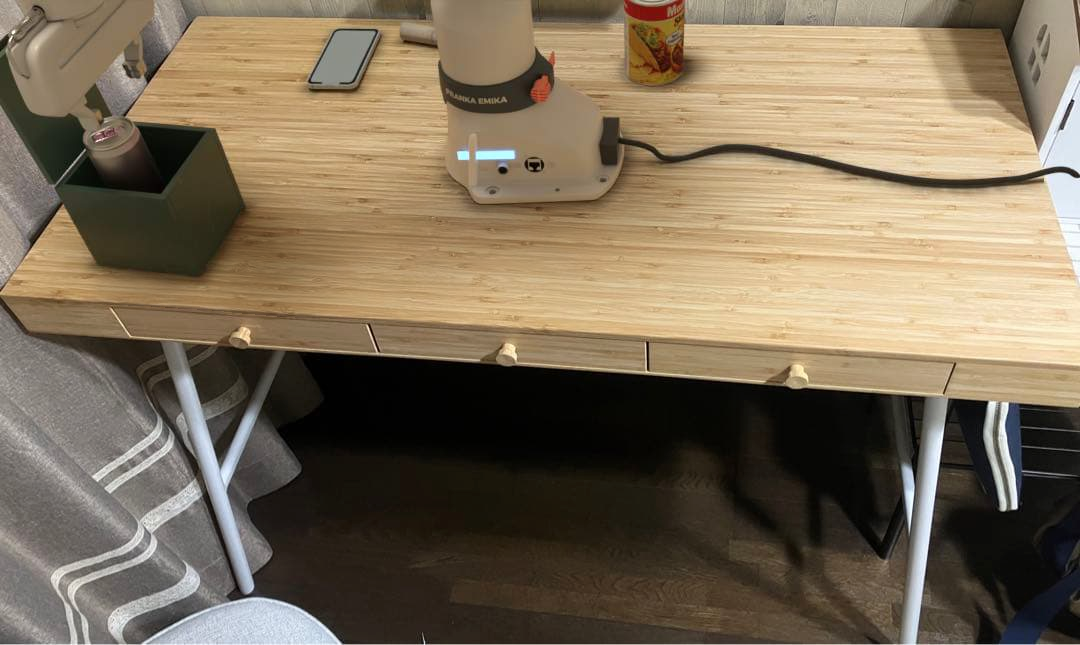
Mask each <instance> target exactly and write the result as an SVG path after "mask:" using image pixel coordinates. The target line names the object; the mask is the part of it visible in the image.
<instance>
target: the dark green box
mask: <svg viewBox="0 0 1080 645" xmlns="http://www.w3.org/2000/svg"><path fill="white" fill-rule="evenodd" d="M131 121H132V122H133V123H134V125H135V126H136V127H137V128H138V129H139V131H140V133H141V135H142V137H143V139H144V141H145V143H146V145H147V147H148V149H149V151H150V153H151V155H152V157H153V159H154V161H155V163H156V166H157V168H158V170H159V172H160V174H161V176H162V178H163V180H164V182H165V184H166V186H167V187H166V188H165V189H164V191H163V192H162V193H161V194H156V193H146V192H136V191H126V190H116V189H107V188H106V186H105V184H104V182H103V181H102V179H101V177H100V175H99V173H98V172H97V170H96V168H95V166H94V165H93V163H92V161H91V159H90V157H89V156H88V154H87V152H86V150H84V151H83V152H82V153H81V154H80V156H79V157H78V158H77V159H76V160H75V162H74V163H73V164H72V165H71V166H70V168H69V169H68V170H67V171H66V172H65V173H64V175H63V176H62V177H61V178H60V179H59V181H58V182H57V183H56V184H55V185H54V188H53V189H54V191H55V192H56V195H57V196H58V198H59V200H60V202H61V203H62V205H63V206H64V209H65V210H66V212H67V214H68V216H69V217H70V219H71V221H72V223H73V225H74V226H75V228H76V230H77V231H78V234H79V235H80V237H81V239H82V241H83V242H84V245H85V246H86V247H87V249H88V251H89V253H90V255H91V256H92V258H93V260H94V262H95V264H96V265H97V266H104V267H105V266H106V267H113V268H121V269H130V270H137V271H138V270H139V271H146V272H155V273H162V274H172V275H180V276H189V277H198V278H200V277H202V275H203V274H204V272H205V270H206V269H207V267H208V265H209V264H210V262H211V261H212V260H213V258H214V256H215V255H216V253H217V251H218V250H219V248H220V247H221V246H222V244H223V242H224V241H225V239H226V237H227V236H228V234H229V232H230V231H231V229H232V228H233V226H234V225H235V223H236V222H237V220H238V219H239V217H240V215H241V214H242V212H243V211H244V209H245V207H246V203H245V201H244V198H243V196H242V193H241V190H240V187H239V185H238V182H237V181H236V177H235V175H234V173H233V170H232V167H231V165H230V162H229V159H228V157H227V155H226V151H225V149H224V147H223V143H222V141H221V139H220V137H219V133H218V130H217V129H216V127H206V126H195V125H184V124H172V123H171V124H170V123H159V122H147V121H137V120H131Z"/></svg>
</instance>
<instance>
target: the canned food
mask: <svg viewBox="0 0 1080 645" xmlns="http://www.w3.org/2000/svg"><path fill="white" fill-rule="evenodd" d="M622 3H623V42H624V43H623V44H624V47H623V48H624V50H623V52H624V72H625V75H626V76H627V78H628V79H629V80H630V81H632V82H634V83H636V84H639V85H642V86H647V87H651V86H652V87H656V86H664V85H668V84H670V83H672V82H674V81H676V80H678V78H680V77H681V76H682V74H683V70H684V54H685V53H684V49H685V48H684V47H685V19H686V18H685V16H686V0H623V2H622Z"/></svg>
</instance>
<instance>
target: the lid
mask: <svg viewBox="0 0 1080 645" xmlns="http://www.w3.org/2000/svg"><path fill="white" fill-rule="evenodd" d="M8 40H9V36H8V33H7V34H5V35H4V36H3V37H1V39H0V107H1V110H2V111H3V112H4V114H5V116H6V118H7V119H8V121H9V123H10V124H11V125H12V127H13V128H14V131H15V132H16V134H17V135H18V137H19V138H20V140H21V142H22V143H23V145H24V147H25V148H26V150H27V151H28V153H29V155H30V156H31V158H32V159H33V161H34V163H35V164H36V166H37V168H38V169H39V171H40V172H41V174H42V176H43V177H44V179H45V180H46V182H47V184H48V185H51V186H52V185H53V186H56V185H57V184H58V183H59V181H60V180H61V179H62V178H63V177H64V175H65V174H66V173H67V172H68V171H69V170H70V168H71V167H72V166H73V165H74V164H75V162H76V161H77V160H78V159H79V158H80V156H81V155H82V154H83V153H84V152H85V145H84V143H83V135H84V133H85V131H86V130H85V129H84V128H83V127H82V125H81V123H80V121H79V119H78V117H75V116H74V115H72V114H70V113H68V114H67V115H66V116H65V117H48V116H40V115H37V114H35V113H32V112H31V111H30V110H29V109H28V107H27V106H26V104H25V102H24V100H23V98H22V95H21V93H20V91H19V89H18V86H17V84H16V81H15V79H14V76H13V74H12V71H11V68H10V65H9V61H8V57H7V55H6V49H7V44H8ZM96 83H97V82H95V84H94V85H93V86H92V87H91V88H90V89H89V91H88V92H87V93H86V94H85V95H84V96H85V98H86V100H87V103H86V104H85V106H86V107H87V108H89V109H99V110H100V112H101V114H102V117H103V118H107V117H112V116H113V114H112V112H111V110H110V108H109V105H108V104H107V103H106V100H105V99H104V97H103V94H102V92H101V91H100V89H99V87H98V85H97V84H96Z"/></svg>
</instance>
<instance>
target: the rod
mask: <svg viewBox="0 0 1080 645" xmlns="http://www.w3.org/2000/svg"><path fill="white" fill-rule="evenodd" d="M399 38H400V39H401V40H403V41H409V42H416V43H421V44H427V45H433V46H438V44H437V39H436V33H435V27H434V25H429V24H423V23H418V22H414V21H413V22H412V21H408V20H403V22H401V23H400V26H399Z"/></svg>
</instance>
